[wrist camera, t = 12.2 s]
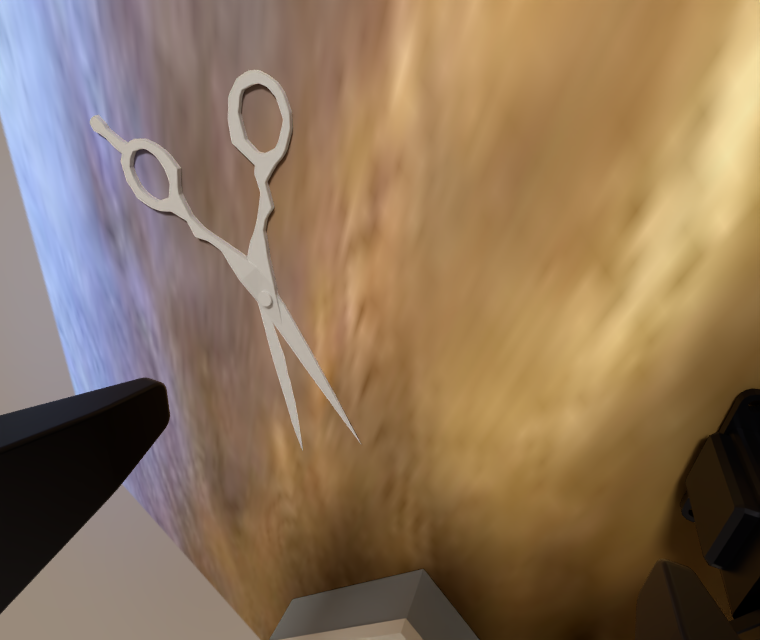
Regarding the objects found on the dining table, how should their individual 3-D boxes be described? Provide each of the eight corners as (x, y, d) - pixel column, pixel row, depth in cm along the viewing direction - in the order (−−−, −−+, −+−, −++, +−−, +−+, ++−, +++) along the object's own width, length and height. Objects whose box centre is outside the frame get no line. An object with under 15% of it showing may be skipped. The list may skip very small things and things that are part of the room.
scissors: (253, 18, 19) (416, 448, 25) (264, 20, 20) (421, 438, 25) (88, 119, 24) (256, 458, 29) (101, 118, 24) (263, 450, 30)
